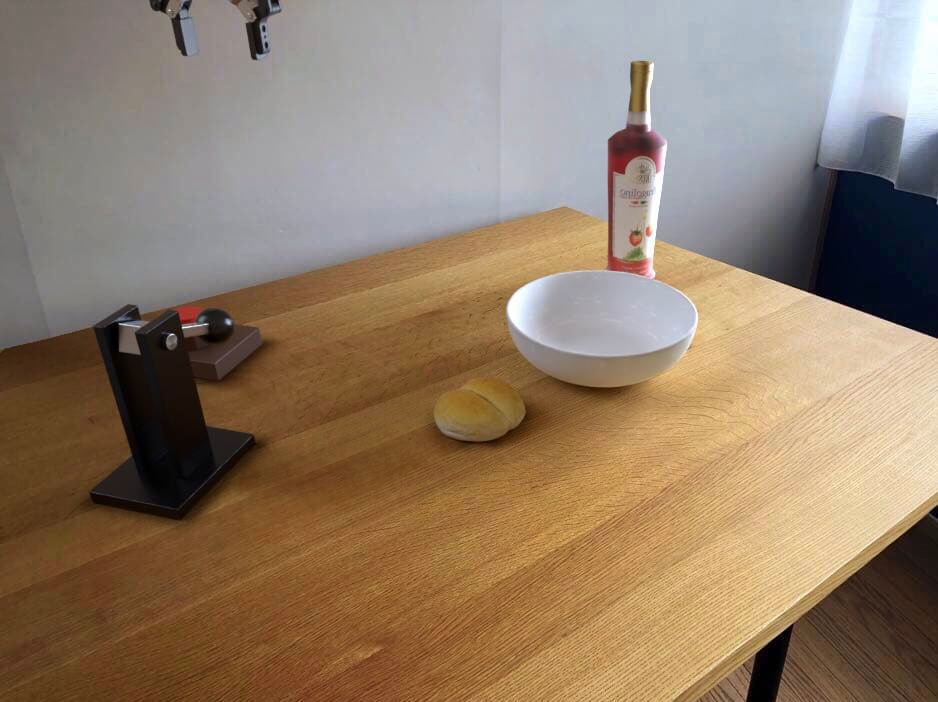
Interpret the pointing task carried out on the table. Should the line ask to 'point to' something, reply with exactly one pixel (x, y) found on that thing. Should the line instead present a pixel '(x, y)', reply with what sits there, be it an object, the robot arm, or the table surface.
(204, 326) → the lever
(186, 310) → the stop button
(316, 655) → the table surface
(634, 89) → the liquor
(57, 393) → the table surface
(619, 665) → the table surface
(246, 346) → the control block
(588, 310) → the serving bowl
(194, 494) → the bracket
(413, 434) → the table surface
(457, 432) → the bread roll
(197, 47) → the robot arm
